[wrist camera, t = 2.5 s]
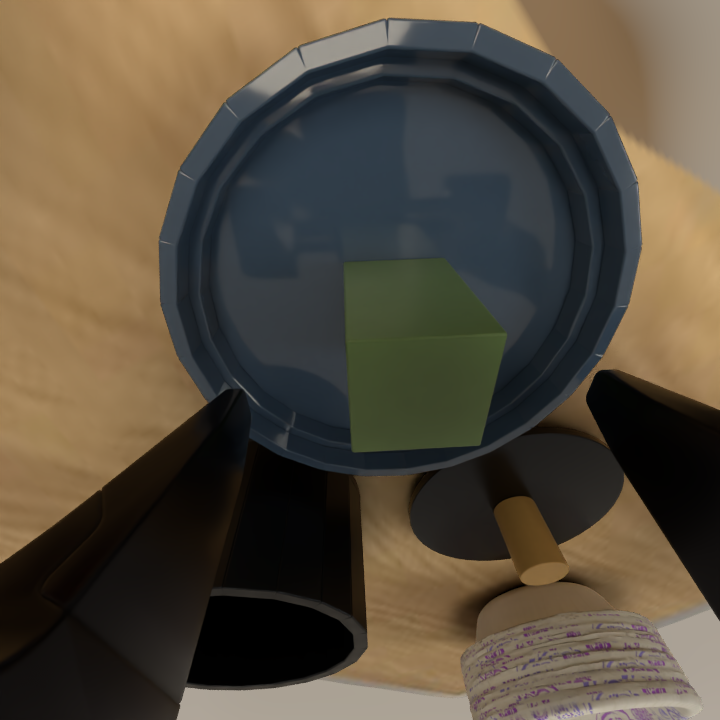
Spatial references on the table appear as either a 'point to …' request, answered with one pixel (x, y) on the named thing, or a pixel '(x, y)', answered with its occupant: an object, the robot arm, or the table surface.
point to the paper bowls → (571, 661)
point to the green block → (417, 356)
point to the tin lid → (519, 501)
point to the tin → (285, 580)
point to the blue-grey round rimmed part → (398, 226)
